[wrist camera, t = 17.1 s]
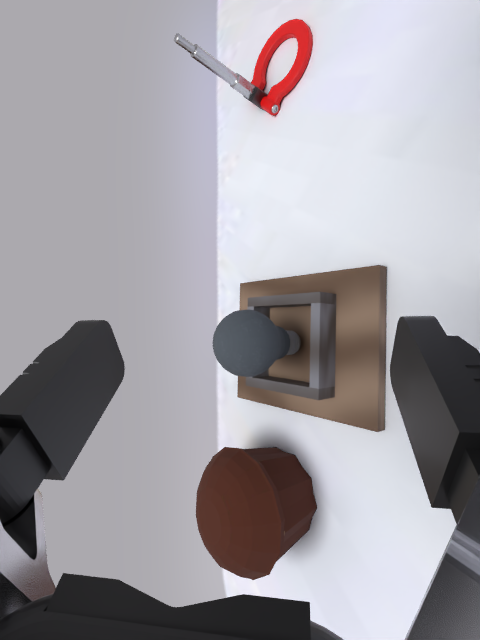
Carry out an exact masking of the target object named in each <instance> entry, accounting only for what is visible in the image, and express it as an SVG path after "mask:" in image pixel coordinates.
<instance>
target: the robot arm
mask: <svg viewBox="0 0 480 640" xmlns="http://www.w3.org/2000/svg"><path fill="white" fill-rule="evenodd" d="M123 377H124V361H123V358H122V355H121V353H120V350H119V348H118V345H117V342H116V339H115V337H114V334H113V331H112V328H111V326H110V324H109V323H108V322H107V321H105V320H88V321H78V322H76V323H75V324H74V325H73V326H72V327H71V329H70V330H69V331H68V332H67V333H66V334H65V335H64V336H63V337H62V338H61V339H59V340H58V341H56V342H55V343H53V344H52V345H50V346H49V347H47V348H45V349H44V351H42V353H41V354H40V355H39V356H38V357H37V358H36V359H35V360H34V361H33V364H30V365H29V366H28V367H27V368H26V369H25V370H24V371H23V375H20V376H19V377H18V378H17V379H16V380H15V381H14V382H13V383H12V384H11V385H10V386H9V387H8V388H7V389H6V390H5V391H4V392H3V393H2V394H1V395H0V640H343V639H342V638H340V637H339V636H337V635H336V634H334V633H333V632H331V631H330V630H328V629H327V628H325V627H323V626H321V625H318V624H316V623H314V622H312V621H310V602H304V601H295V600H287V599H278V598H270V597H261V596H253V595H244V594H243V595H238V596H233V597H228V598H224V599H218V600H214V601H208V602H203V603H198V604H194V605H189V606H184V607H177V608H176V607H171V606H168V605H166V604H164V603H162V602H160V601H158V600H156V599H155V598H153V597H151V596H149V595H147V594H145V593H143V592H141V591H139V590H137V589H135V588H133V587H131V586H129V585H128V584H125V583H124V582H122V581H120V580H116V579H108V578H99V577H90V576H83V575H74V574H66V573H63V575H62V577H61V579H60V581H59V583H58V585H57V587H56V588H55V585H54V583H53V581H52V579H51V576H50V573H49V570H48V565H47V555H46V541H45V531H44V530H45V528H44V517H43V516H44V515H43V502H42V494H41V492H40V491H39V489H38V487H39V485H40V484H41V482H42V481H43V479H51V480H64V479H65V477H66V476H67V474H68V472H69V470H70V469H71V467H72V465H73V464H74V462H75V460H76V459H77V457H78V455H79V453H80V452H81V450H82V448H83V447H84V445H85V443H86V441H87V440H88V438H89V436H90V435H91V433H92V431H93V430H94V428H95V426H96V425H97V423H98V421H99V419H100V418H101V416H102V414H103V413H104V411H105V409H106V408H107V406H108V404H109V402H110V401H111V399H112V397H113V396H114V394H115V392H116V390H117V389H118V387H119V385H120V384H121V382H122V380H123ZM390 377H391V384H392V388H393V391H394V394H395V397H396V400H397V403H398V406H399V409H400V412H401V415H402V418H403V422H404V425H405V428H406V431H407V434H408V437H409V440H410V443H411V446H412V449H413V452H414V455H415V458H416V461H417V464H418V467H419V470H420V473H421V476H422V479H423V483H424V486H425V489H426V492H427V495H428V498H429V501H430V504H431V507H432V508H446V509H451V510H452V513H453V515H454V518H455V521H456V523H457V525H456V527H455V529H454V532H453V534H452V536H451V538H450V541H449V543H448V545H447V547H446V549H445V552H444V554H443V556H442V558H441V560H440V563H439V565H438V567H437V569H436V571H435V574H434V576H433V578H432V580H431V583H430V585H429V587H428V589H427V591H426V594H425V596H424V598H423V600H422V602H421V605H420V607H419V609H418V611H417V613H416V616H415V618H414V620H413V622H412V624H411V627H410V629H409V631H408V633H407V635H406V638H405V640H480V353H479V352H478V350H477V349H476V348H474V347H473V346H471V345H470V344H469V343H467V342H466V341H464V340H463V339H462V338H460V337H459V336H447V335H446V333H445V332H444V330H443V329H442V327H441V325H440V324H439V322H438V320H437V319H436V318H435V317H434V316H406V317H400V318H399V321H398V324H397V330H396V335H395V341H394V347H393V352H392V358H391V364H390Z"/></svg>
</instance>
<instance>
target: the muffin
mask: <svg viewBox="0 0 480 640" xmlns="http://www.w3.org/2000/svg"><path fill="white" fill-rule="evenodd" d="M316 509H317V505H316V501H315V498H314V494H313V487H312V479H311V477H310V476H309V475H308V473H307V472H306V471H305V470H304V468H303V467H302V466H301V464H300V462H299V461H298V459H297V458H296V456H295V455H293V454H289V453H286V452H284V451H282V450H280V449H278V448H276V447H273V448H257V449H239V448H229V447H224V448H223V449H222V450H221V451H219V452H218V453H217V454H216V455H215V456H213V458H212V459H211V461H210V462H209V464H208V465H207V467H206V469H205V471H204V473H203V475H202V478H201V481H200V484H199V487H198V490H197V502H196V518H197V524H198V529H199V532H200V535H201V538H202V540H203V543H204V545H205V547H206V549H207V550H208V551H209V553H210V554H211V555H212V557H213V558H214V559H215V561H216V562H217V563H218V565H219V566H220V567H222V568H224V569H226V570H228V571H230V572H232V573H234V574H236V575H238V576H240V577H244V578H250V579H252V580H255V579H258V578H261V577H264V576H266V575H269V574H270V572H271V570H272V568H273V566H274V564H275V562H276V561H277V560H278V559H279V558H281V557H282V556H283V555H284V554H285V553H286V552H287V551H288V550H289V549H290V548H291V547H292V546H293V545H294V544H295V543H296V542H297V541H298V540H299V539H300V538H301V537H302V536H303V535H304V534H305V533H306V532H307V531H308V530H309V528H310V524H311V520H312V517H313V515H314V513H315V511H316Z"/></svg>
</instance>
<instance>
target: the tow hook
mask: <svg viewBox="0 0 480 640" xmlns="http://www.w3.org/2000/svg"><path fill="white" fill-rule="evenodd" d="M293 37H294V38H297V41H298V52H297V56H296V59H295V62H294V64H293V66H292V68H291V70H290V71H289V73H288V74H287V76H286V77H285V78H284V79H283V80H282V81H281V82H279V83H278V84H276V85H274V86H273V87H272V88H271V90H270V92H269V94H268V95H267V94H266V93H265V92H263V91H262V90H263V89H264V87H265V84H266V80H265V74H266V69H267V66H268V63H269V60H270V58H271V56H272V55H273V53H274V51H275V50H276V49H277V48H278V46H279V45H280V44H281V43H282V42H284V41H285V40H287V39H289V38H293ZM174 41H175V42H176V43H177V44H178V45H180V46H181V47H182V48H184V49H185V50H187V51H188V52H189V53H190V54H191V57H192V58H194V59H195V60H197V61H198V62H200V63H201V64H202V65H204V66H205V67H206V68H208V69H210V70H211V71H212V72H213V73H215V74H216V75H218V76H219V77H220V78H222V79H223V80H225V81H226V82H227V83H229V84H230V86H231V87H232V88H234V89H235V90H236V91H238V92H239V93H241V94H242V95H243V96H244V97H245V98H246V99H248V100H249V101H251V102H252V103H253V104H255V105H256V106H258V107H259V108H261V109H262V110H265V111H267V112H268V113H269V114H271V115H273V116H274V115H277V114H278V112H279V110H280V105H279V104H280V102H281V100H282V98H283V97H284V96H285V95H287V94H288V93H289V92H290V91H291V90H292V89H293V88H294V86H295V85H296V84H297V82H298V81H299V80H300V78H301V76H302V75H303V73H304V71H305V69H306V67H307V64H308V61H309V59H310V56H311V51H312V45H313V39H312V33H311V30H310V28H309V27H308V26H307V24H306V23H305V22H304V21H303V20H299V19H293V20H289V21H288V22H286V23H284V24H283V25H281V26H280V27H279V28H278V29H277V30H276V31H275V32H274V33H273V34H272V35H271V37H270V38H269V39H268V41H267V42H266V44H265V45H264V47H263V49H262V51H261V53H260V55H259V57H258V60H257V63H256V66H255V70H254V76H253V80H252V82H251V83H250V82H249V81H247V80H246V79H245V78H243V77H242V76H241V75H239V74H238V73H234V72H233V71H231V70H230V69H229V68H227V67H226V66H225V65H224V64H222V63H221V62H220V61H218V60H217V59H215V58H214V57H213V56H212V55H210V54H209V53H208V52H206V51H205V50H203V49H202V48H201V47H199V46H198V45H197V44H195V45H193V44H192V43H190V42H189V41H188V40H186V39H185V38H184V37H182V36H181V35H180V34H176V36H175V38H174Z"/></svg>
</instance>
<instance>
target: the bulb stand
mask: <svg viewBox="0 0 480 640" xmlns="http://www.w3.org/2000/svg"><path fill="white" fill-rule="evenodd" d="M386 276H387V267H385V266H381V265H377V266H369V267H362V268H354V269H346V270H339V271H331V272H324V273H316V274H309V275H301V276H293V277H286V278H278V279H271V280H263V281H256V282H248V283H240V310H254V311H257V312H260V313H262V314H264V315H266V316H267V317H268V318H269V319H270V320H271V321H272V322H273V323H274V324H275V325H276V326H279V327H282V328H283V329H284V330H289V331H294V332H295V333H297V334H298V335H299V337H300V340H301V345H300V348H299V350H298V351H297V352H296V353H295V354H292V355H285V356H284V357H283V358H281V359H278V360H276V361H275V362H274V363H273V365H272V366H271V367H270V368H268V369H267V370H266V371H265V372H263V373H261V374H258V375H256V376H252V377H244V376H238V397H239V398H243V399H247V400H251V401H255V402H259V403H263V404H267V405H271V406H275V407H279V408H283V409H287V410H291V411H295V412H299V413H303V414H307V415H311V416H315V417H319V418H323V419H327V420H331V421H335V422H340V423H344V424H348V425H352V426H356V427H360V428H364V429H368V430H372V431H376V432H379V431H382V430H385V360H386Z"/></svg>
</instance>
